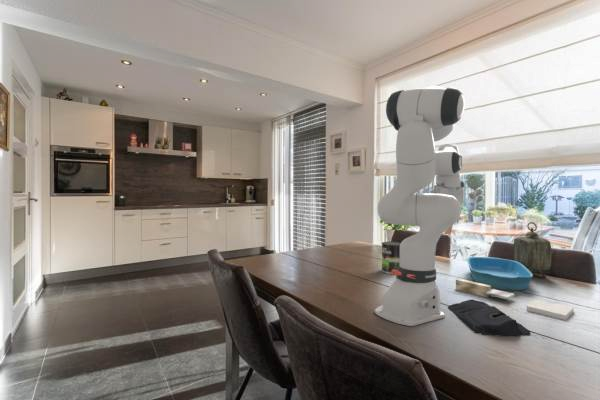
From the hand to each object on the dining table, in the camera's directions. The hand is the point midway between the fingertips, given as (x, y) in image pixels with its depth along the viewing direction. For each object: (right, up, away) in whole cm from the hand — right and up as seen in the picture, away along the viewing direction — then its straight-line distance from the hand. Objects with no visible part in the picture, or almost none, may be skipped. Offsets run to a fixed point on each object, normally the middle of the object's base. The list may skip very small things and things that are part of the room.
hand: (447, 216), depth 131 cm
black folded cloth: (-6, -31, -36) cm, 48 cm away
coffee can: (-17, -29, +22) cm, 40 cm away
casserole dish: (+25, -29, +6) cm, 39 cm away
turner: (+7, -30, -14) cm, 33 cm away
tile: (+16, -29, -26) cm, 42 cm away
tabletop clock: (+46, -29, +14) cm, 56 cm away
